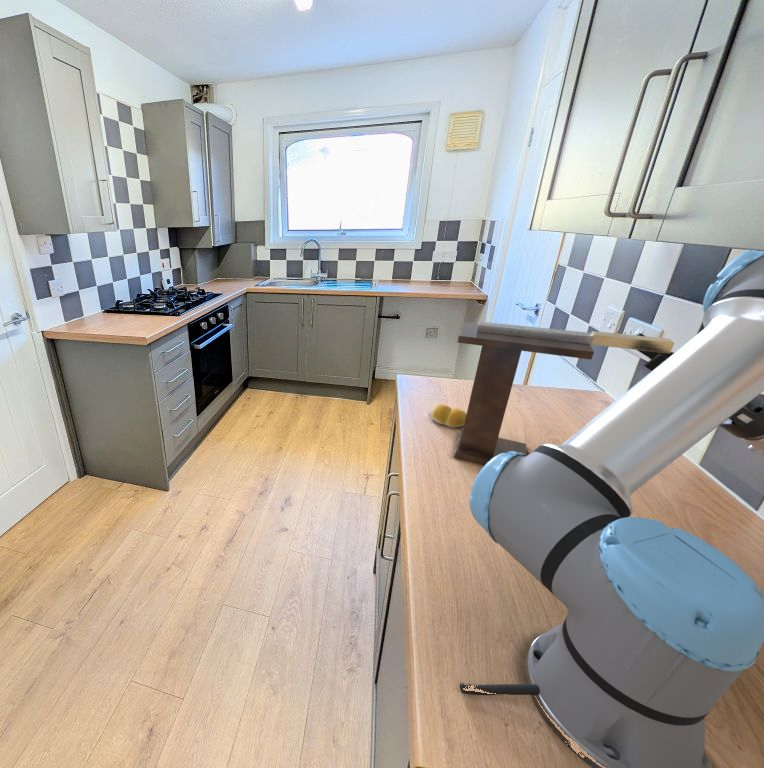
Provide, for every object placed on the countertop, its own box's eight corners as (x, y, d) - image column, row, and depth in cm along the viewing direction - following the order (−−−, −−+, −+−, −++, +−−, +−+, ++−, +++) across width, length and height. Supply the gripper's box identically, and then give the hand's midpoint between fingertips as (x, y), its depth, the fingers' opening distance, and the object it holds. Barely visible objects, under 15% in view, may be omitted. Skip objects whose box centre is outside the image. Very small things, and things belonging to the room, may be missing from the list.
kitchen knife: (665, 349, 70) (670, 338, 69) (670, 353, 68) (675, 342, 67) (477, 328, 85) (479, 319, 84) (476, 331, 83) (478, 322, 82)
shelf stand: (544, 453, 91) (584, 334, 79) (548, 482, 82) (594, 351, 70) (442, 430, 102) (464, 322, 90) (435, 452, 92) (458, 335, 81)
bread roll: (462, 431, 101) (465, 418, 99) (427, 421, 106) (429, 408, 104) (470, 419, 106) (473, 406, 105) (436, 410, 112) (438, 397, 110)
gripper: (773, 475, 59) (638, 387, 63) (709, 408, 78) (609, 344, 83) (837, 445, 54) (687, 353, 59) (753, 382, 74) (645, 316, 78)
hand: (641, 348), depth 71 cm, fingers open, 13 cm apart
